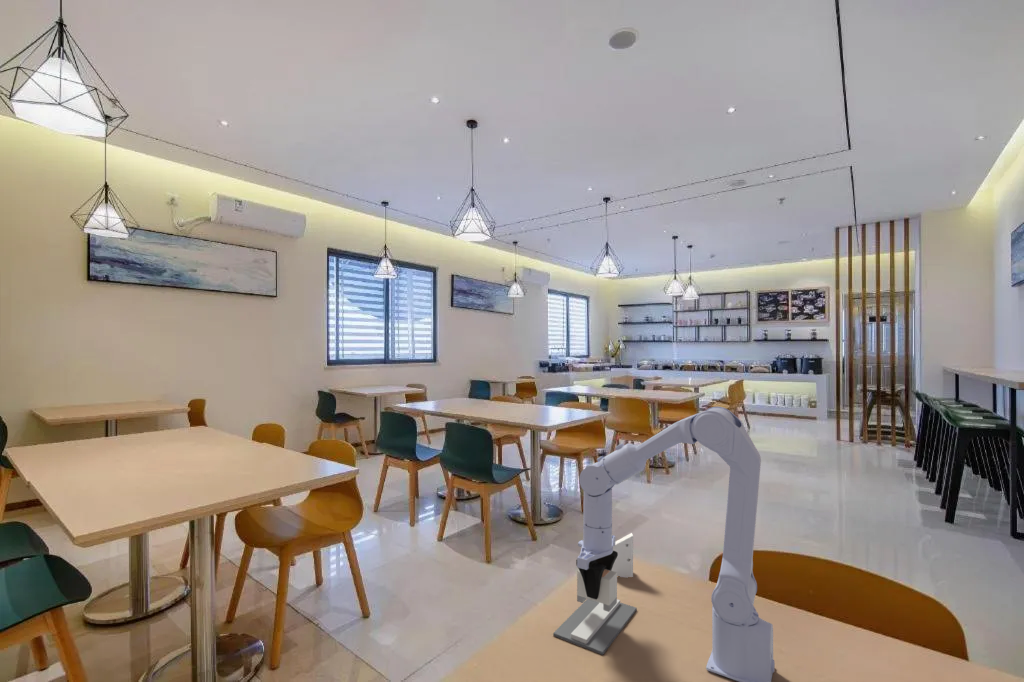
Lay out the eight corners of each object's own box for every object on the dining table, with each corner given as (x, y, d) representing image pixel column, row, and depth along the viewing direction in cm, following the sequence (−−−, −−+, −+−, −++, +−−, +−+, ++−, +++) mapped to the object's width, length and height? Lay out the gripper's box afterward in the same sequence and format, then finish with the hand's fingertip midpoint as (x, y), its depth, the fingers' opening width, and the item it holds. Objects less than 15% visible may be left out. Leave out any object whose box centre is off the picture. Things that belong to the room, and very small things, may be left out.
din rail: (636, 610, 98) (636, 603, 98) (602, 655, 83) (602, 647, 83) (592, 596, 103) (592, 590, 103) (553, 635, 88) (553, 628, 88)
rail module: (616, 603, 93) (617, 571, 93) (609, 611, 89) (609, 579, 90) (585, 593, 97) (585, 562, 97) (577, 601, 93) (577, 569, 93)
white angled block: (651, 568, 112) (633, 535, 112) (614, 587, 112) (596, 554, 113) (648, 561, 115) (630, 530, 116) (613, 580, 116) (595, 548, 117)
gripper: (593, 510, 102) (593, 573, 101) (563, 530, 90) (562, 601, 89) (625, 516, 98) (624, 582, 97) (597, 538, 86) (596, 613, 85)
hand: (597, 592), depth 93 cm, fingers closed on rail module, 4 cm apart
